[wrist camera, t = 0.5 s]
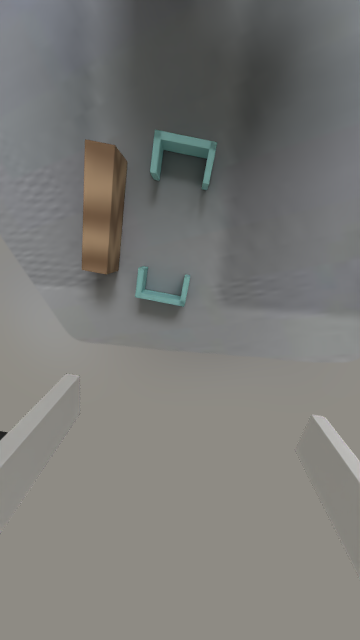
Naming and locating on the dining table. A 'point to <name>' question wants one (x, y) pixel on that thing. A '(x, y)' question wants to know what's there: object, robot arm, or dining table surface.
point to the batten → (103, 207)
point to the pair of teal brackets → (159, 145)
